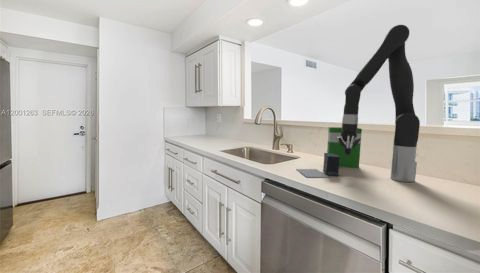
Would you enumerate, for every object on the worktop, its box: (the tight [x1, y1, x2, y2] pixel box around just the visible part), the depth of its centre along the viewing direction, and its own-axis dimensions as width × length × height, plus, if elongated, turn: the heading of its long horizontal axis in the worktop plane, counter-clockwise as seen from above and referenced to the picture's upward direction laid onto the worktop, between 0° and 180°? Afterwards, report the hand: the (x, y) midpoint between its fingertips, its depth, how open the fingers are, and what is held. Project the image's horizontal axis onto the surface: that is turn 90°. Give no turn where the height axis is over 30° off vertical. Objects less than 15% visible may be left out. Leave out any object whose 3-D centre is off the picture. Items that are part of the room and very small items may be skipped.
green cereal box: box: [326, 126, 363, 169], centre depth 140 cm, size 18×7×24 cm, turn 76°
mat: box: [296, 168, 331, 179], centre depth 121 cm, size 12×16×1 cm
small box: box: [322, 152, 340, 177], centre depth 121 cm, size 11×6×10 cm, turn 168°
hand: (347, 154), depth 121 cm, fingers closed
